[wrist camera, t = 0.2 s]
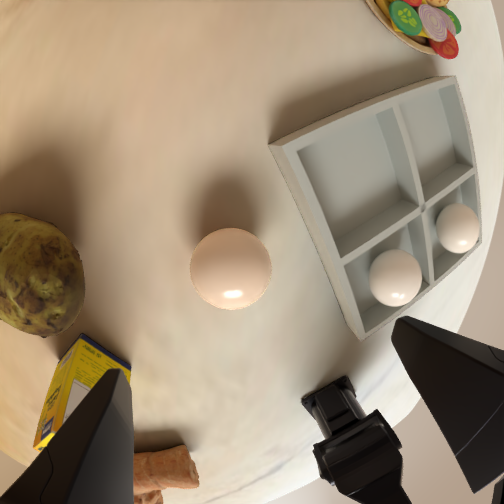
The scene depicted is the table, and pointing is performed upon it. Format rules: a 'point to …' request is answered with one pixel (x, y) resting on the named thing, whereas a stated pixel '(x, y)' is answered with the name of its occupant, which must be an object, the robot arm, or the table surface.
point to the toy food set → (420, 24)
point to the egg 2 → (457, 228)
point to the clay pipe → (162, 473)
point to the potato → (38, 276)
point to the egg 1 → (394, 277)
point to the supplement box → (73, 384)
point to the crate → (383, 188)
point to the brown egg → (230, 268)
